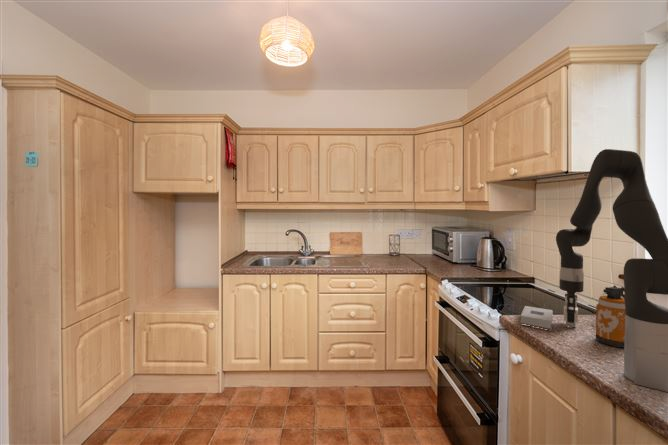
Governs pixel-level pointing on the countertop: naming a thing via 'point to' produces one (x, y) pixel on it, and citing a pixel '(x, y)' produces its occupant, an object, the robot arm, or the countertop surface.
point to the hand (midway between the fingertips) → (570, 319)
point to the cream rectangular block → (574, 317)
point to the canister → (611, 317)
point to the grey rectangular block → (537, 317)
